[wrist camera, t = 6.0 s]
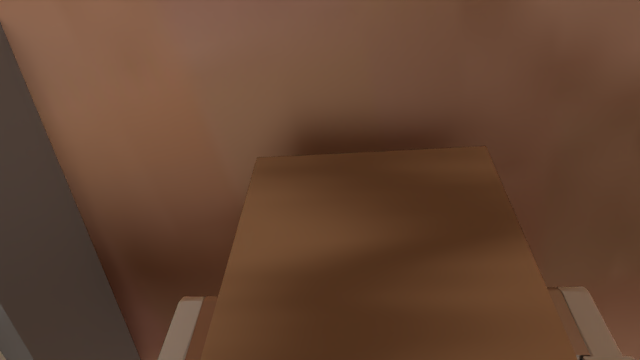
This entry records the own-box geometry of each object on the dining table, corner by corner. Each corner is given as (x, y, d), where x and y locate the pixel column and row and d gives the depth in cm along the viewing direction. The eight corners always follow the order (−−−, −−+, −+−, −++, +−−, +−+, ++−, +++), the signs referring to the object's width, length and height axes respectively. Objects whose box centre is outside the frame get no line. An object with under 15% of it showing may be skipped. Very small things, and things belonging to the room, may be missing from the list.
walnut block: (485, 146, 11) (598, 405, 6) (468, 305, 14) (534, 570, 9) (256, 157, 11) (186, 408, 6) (285, 309, 14) (251, 564, 9)
